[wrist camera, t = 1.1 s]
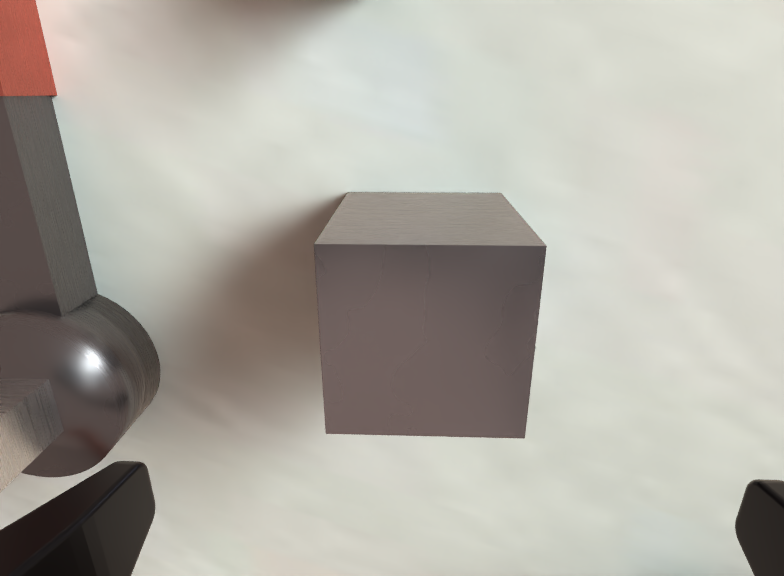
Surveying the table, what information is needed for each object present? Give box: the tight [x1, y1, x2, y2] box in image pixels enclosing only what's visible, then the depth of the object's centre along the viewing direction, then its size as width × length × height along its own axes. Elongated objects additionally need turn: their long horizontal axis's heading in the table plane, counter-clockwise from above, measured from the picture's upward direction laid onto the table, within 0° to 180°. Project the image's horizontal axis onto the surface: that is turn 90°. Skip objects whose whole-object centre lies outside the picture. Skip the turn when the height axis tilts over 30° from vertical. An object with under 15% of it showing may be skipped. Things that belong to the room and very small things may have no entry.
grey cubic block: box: [314, 192, 546, 438], centre depth 15 cm, size 5×5×6 cm
